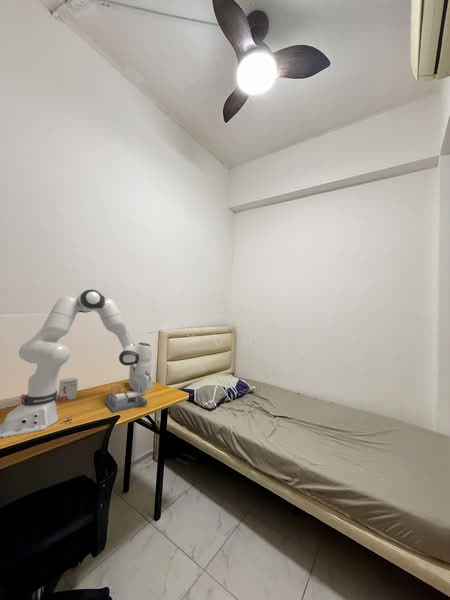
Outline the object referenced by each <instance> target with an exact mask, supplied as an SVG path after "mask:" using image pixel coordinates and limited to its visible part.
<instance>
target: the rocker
mask: <svg viewBox="0 0 450 600" xmlns="http://www.w3.org/2000/svg"><path fill="white" fill-rule="evenodd" d="M125 395H126V397H128V398H131V397H136V396H141V397H142V396H145V395H146V393H145V392H141V391H135V392H134V391H132V392H130V393H126V392H125Z"/></svg>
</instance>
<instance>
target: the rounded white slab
mask: <svg viewBox="0 0 450 600" xmlns="http://www.w3.org/2000/svg"><path fill="white" fill-rule="evenodd" d="M133 367H136V364H133V365H129V374H128V379H129V380H128V385H129V387H130V388H131V389H132V390H131V391H132V392H135V391H140V388H139V384H137V383H136V382H134V380H133V372H134V371H133ZM146 391H147V390H146V389H145V394H146Z"/></svg>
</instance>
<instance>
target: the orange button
mask: <svg viewBox="0 0 450 600" xmlns="http://www.w3.org/2000/svg"><path fill="white" fill-rule="evenodd" d="M110 393H111V395H112V396H115V395H116V394H121V393H122V386H120V385H115V386H111V387H110Z"/></svg>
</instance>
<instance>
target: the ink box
mask: <svg viewBox="0 0 450 600" xmlns="http://www.w3.org/2000/svg"><path fill="white" fill-rule="evenodd" d="M77 396H78V378H77V377H75V376H74V377H67V378H62V379H60V380H59V388H58V397H57V400H59V402H65V401H70V400H73V399H77Z"/></svg>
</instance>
